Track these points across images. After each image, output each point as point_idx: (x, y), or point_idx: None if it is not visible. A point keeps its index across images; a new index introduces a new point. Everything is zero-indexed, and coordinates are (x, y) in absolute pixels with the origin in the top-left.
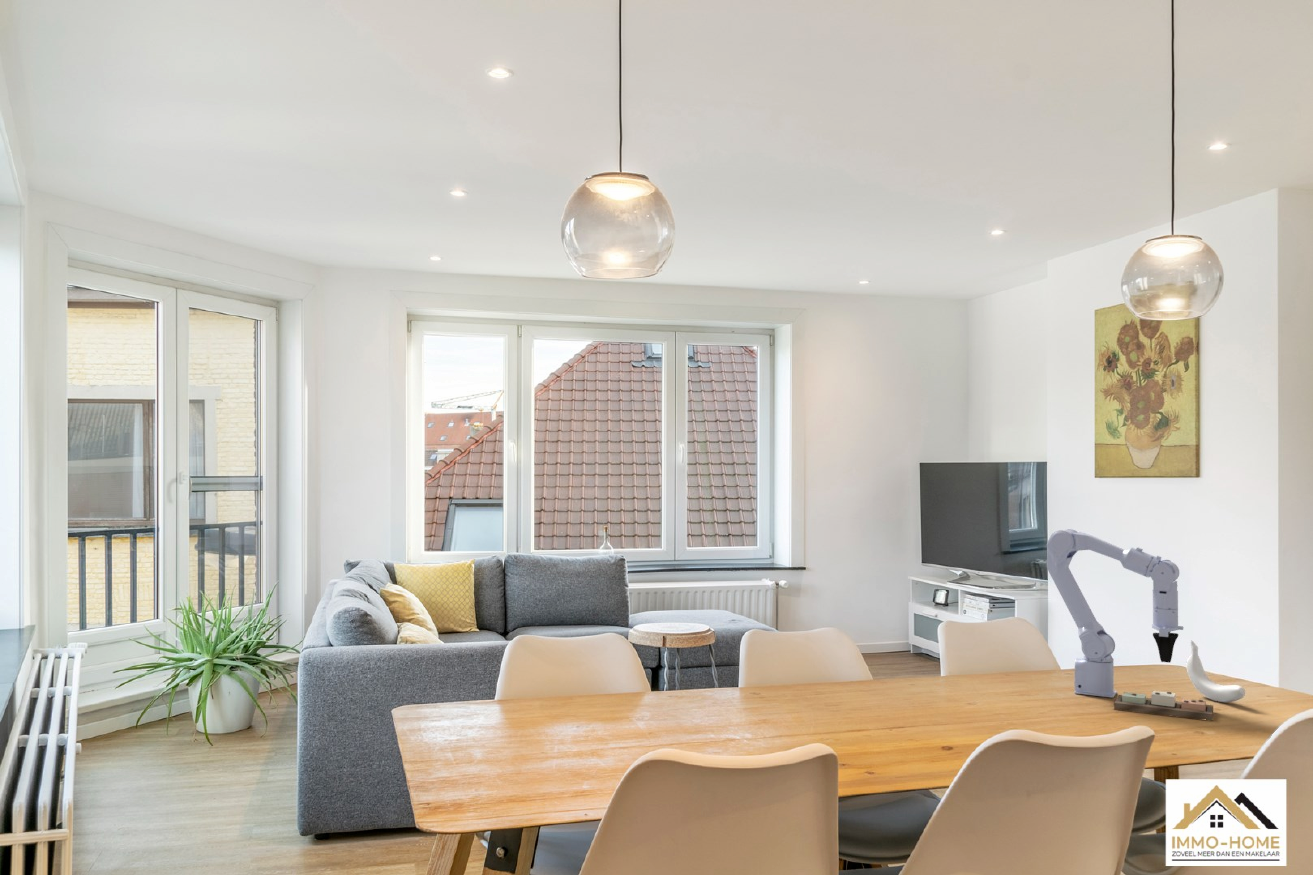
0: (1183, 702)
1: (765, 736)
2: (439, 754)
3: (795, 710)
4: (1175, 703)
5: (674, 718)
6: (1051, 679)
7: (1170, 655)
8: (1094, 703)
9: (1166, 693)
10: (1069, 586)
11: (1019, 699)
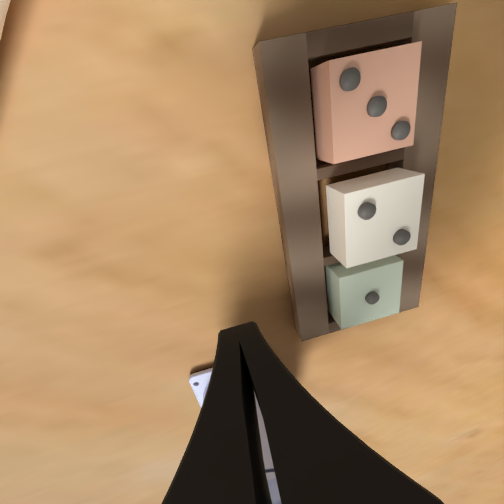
0: (409, 137)
1: None
2: None
3: None
4: (316, 187)
5: None
6: (154, 494)
7: (271, 355)
8: (362, 346)
9: (370, 217)
10: None
11: (405, 422)
